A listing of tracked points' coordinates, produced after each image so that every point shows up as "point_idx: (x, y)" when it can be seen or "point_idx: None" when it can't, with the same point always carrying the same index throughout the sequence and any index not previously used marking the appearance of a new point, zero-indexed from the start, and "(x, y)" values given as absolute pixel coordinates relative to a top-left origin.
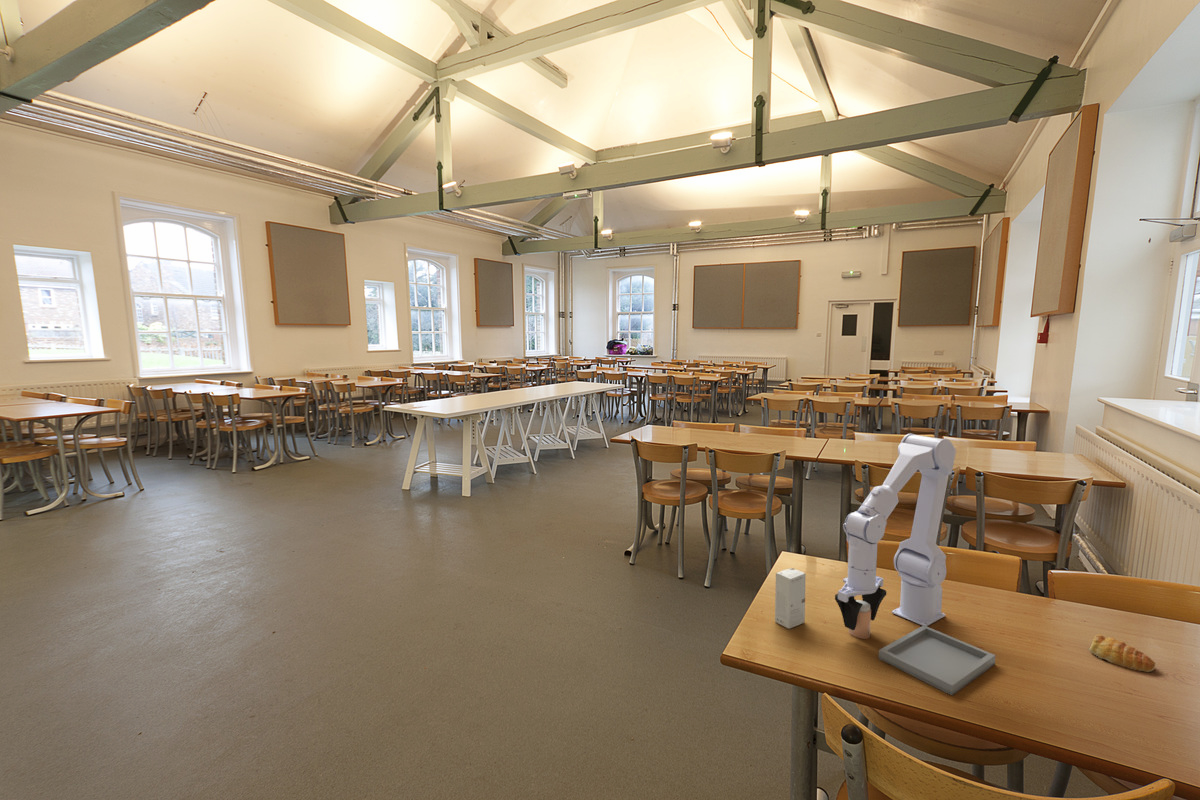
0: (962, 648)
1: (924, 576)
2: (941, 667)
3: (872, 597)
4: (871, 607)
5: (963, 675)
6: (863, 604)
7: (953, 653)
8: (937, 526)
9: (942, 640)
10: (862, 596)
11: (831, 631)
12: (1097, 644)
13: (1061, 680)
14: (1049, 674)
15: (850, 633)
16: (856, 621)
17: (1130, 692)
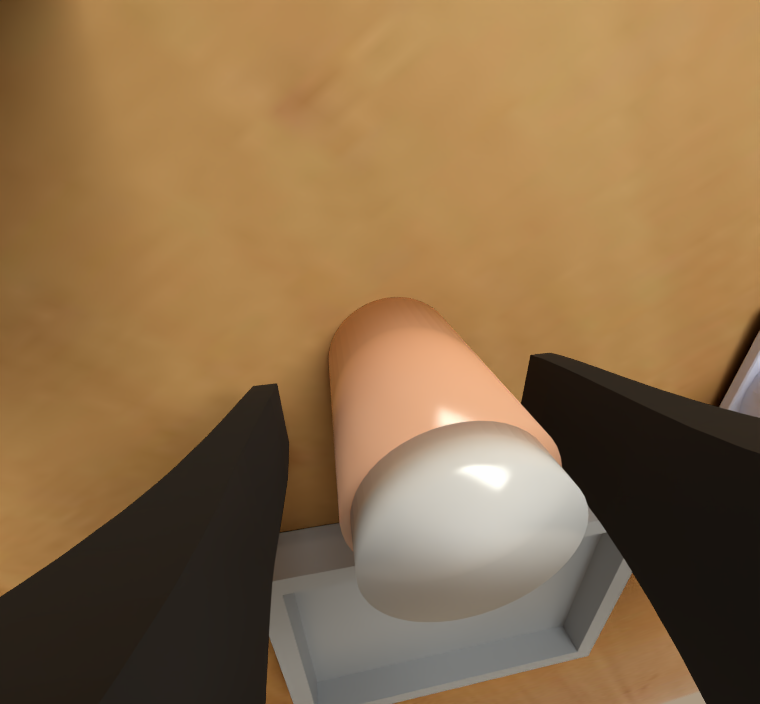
0: (583, 592)
1: None
2: (410, 628)
3: (701, 583)
4: (595, 470)
5: (389, 701)
6: (492, 569)
7: (534, 592)
8: None
9: (599, 549)
10: (716, 444)
11: (228, 249)
12: None
13: (594, 665)
14: (605, 653)
15: (332, 342)
16: (277, 520)
17: (630, 691)
